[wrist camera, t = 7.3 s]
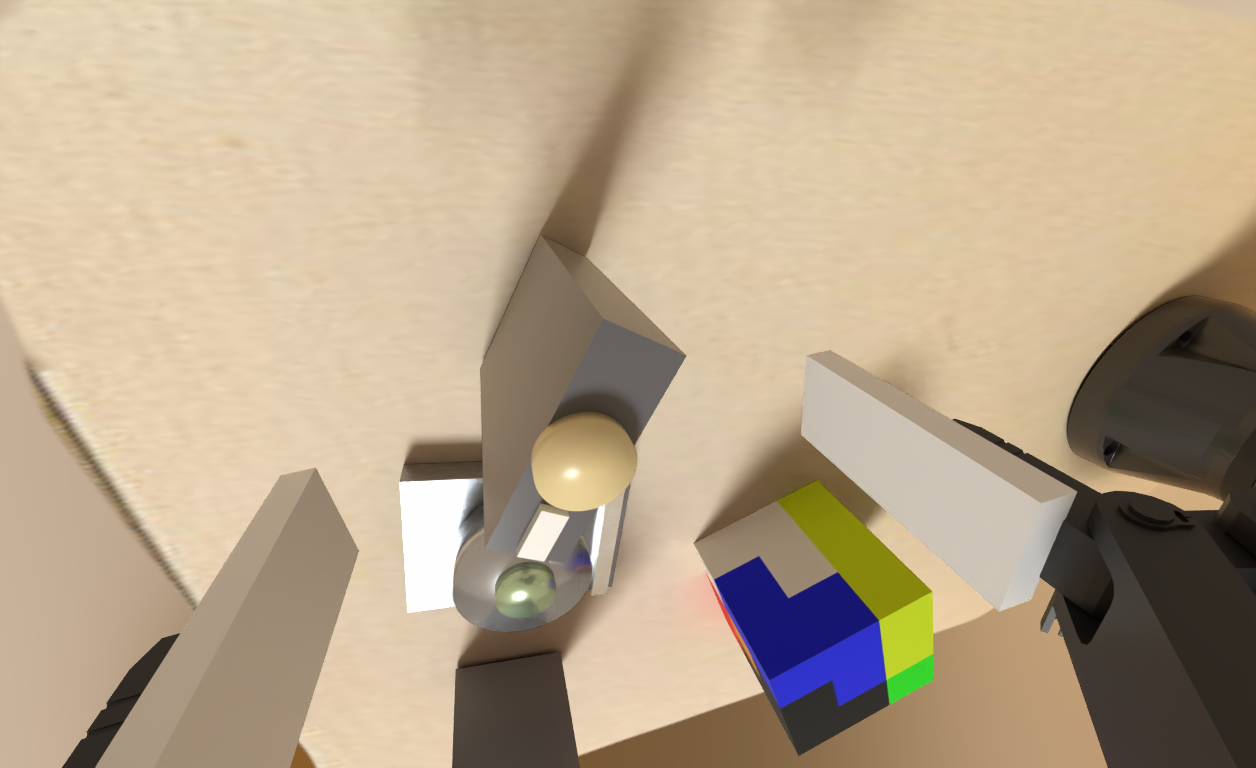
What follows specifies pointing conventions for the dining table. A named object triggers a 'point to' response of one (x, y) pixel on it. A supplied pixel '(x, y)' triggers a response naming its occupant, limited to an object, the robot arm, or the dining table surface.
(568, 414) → the dark grey flat block
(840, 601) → the puzzle toy
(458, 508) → the levelling plate
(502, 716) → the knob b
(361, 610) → the dining table surface
